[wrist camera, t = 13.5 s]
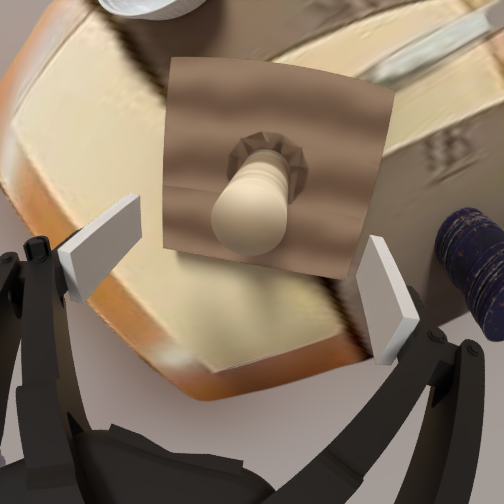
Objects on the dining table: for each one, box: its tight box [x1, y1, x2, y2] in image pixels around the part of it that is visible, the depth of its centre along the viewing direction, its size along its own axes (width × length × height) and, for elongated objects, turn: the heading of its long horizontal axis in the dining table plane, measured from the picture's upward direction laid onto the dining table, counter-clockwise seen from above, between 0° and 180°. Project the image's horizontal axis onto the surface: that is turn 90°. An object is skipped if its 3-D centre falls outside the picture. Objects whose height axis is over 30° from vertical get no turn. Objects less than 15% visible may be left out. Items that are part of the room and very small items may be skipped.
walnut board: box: [163, 57, 395, 280], centre depth 30 cm, size 22×22×4 cm
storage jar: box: [435, 207, 504, 342], centre depth 26 cm, size 10×10×15 cm
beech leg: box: [211, 149, 290, 256], centre depth 25 cm, size 5×5×16 cm
